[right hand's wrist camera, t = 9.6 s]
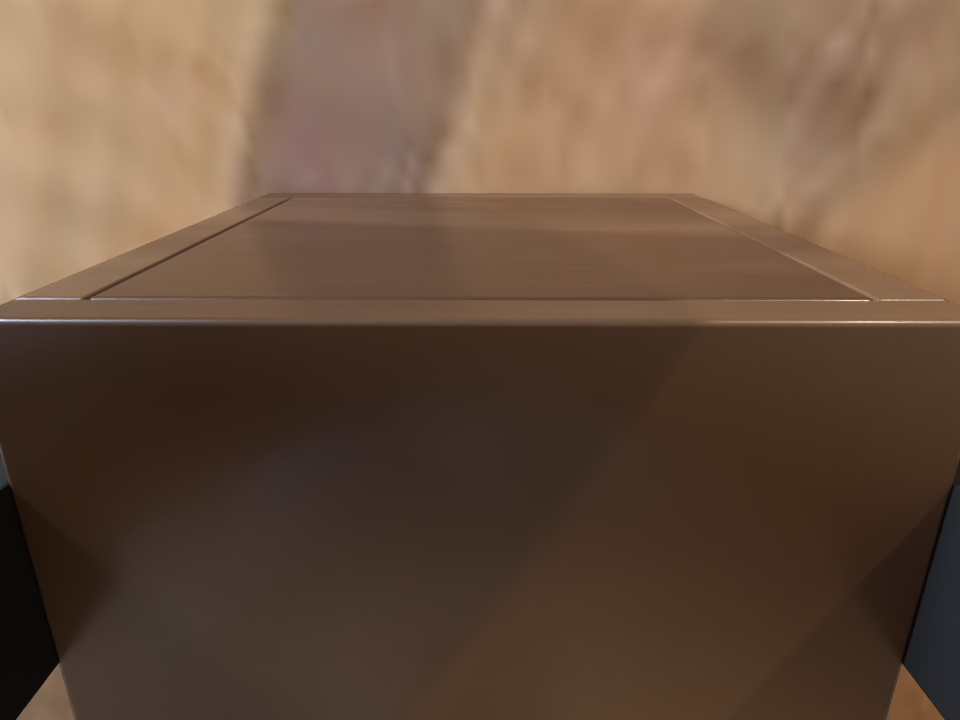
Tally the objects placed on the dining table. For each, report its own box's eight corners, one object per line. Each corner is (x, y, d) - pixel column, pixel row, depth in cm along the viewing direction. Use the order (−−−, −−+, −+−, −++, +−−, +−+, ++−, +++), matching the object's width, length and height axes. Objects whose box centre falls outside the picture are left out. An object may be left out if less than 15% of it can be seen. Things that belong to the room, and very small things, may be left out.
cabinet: (629, 784, 25) (734, 1263, 15) (330, 784, 25) (224, 1262, 15) (694, 193, 18) (1002, 320, 7) (267, 192, 18) (-41, 318, 7)
